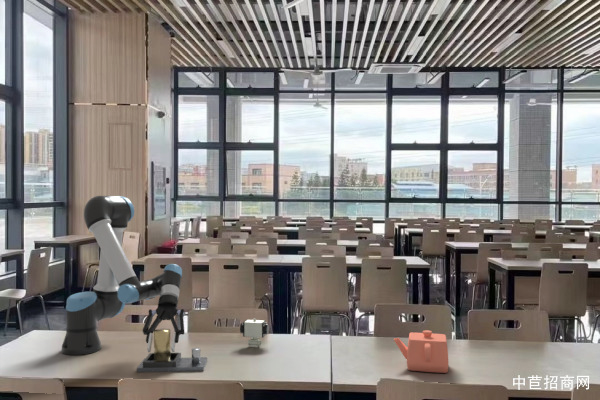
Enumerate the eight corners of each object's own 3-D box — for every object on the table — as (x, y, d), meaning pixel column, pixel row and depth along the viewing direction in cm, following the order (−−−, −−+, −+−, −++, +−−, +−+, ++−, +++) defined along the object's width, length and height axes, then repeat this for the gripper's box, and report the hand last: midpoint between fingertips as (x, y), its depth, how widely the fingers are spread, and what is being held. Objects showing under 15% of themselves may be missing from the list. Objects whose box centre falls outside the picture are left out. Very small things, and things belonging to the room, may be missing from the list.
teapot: (446, 360, 210) (447, 325, 210) (449, 379, 188) (449, 339, 188) (395, 357, 214) (395, 322, 214) (392, 374, 193) (392, 336, 193)
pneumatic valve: (266, 348, 226) (266, 320, 226) (239, 347, 228) (239, 319, 228) (269, 345, 231) (269, 317, 231) (243, 344, 233) (243, 316, 233)
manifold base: (136, 372, 195) (137, 354, 195) (144, 362, 207) (144, 345, 207) (203, 371, 197) (203, 353, 197) (207, 361, 209) (207, 344, 209)
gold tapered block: (152, 364, 199) (152, 332, 199) (156, 360, 205) (155, 328, 205) (169, 364, 199) (168, 331, 199) (171, 359, 205) (171, 328, 205)
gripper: (196, 303, 218) (190, 354, 202) (143, 304, 216) (133, 355, 200) (194, 293, 212) (188, 344, 196) (140, 293, 211) (130, 345, 195)
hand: (160, 350), depth 198 cm, fingers open, 8 cm apart
